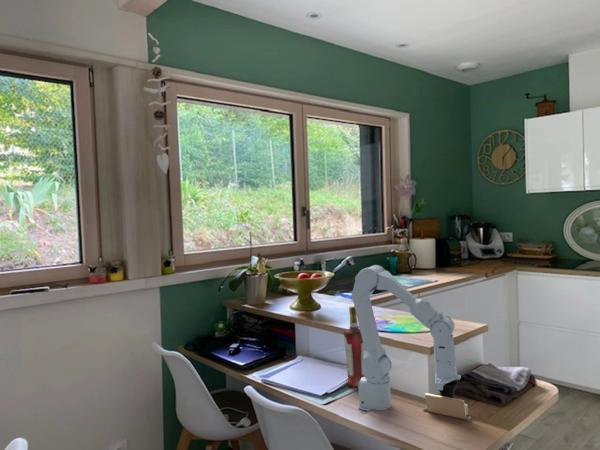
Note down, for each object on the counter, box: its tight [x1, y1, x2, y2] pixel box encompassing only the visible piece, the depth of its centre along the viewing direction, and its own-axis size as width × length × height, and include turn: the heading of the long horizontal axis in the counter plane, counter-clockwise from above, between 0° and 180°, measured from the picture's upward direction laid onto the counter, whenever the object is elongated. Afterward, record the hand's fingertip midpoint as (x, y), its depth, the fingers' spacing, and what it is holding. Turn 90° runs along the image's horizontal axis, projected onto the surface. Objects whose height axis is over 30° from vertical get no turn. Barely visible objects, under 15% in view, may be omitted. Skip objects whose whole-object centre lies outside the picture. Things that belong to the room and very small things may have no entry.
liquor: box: [343, 305, 365, 389], centre depth 158 cm, size 7×7×28 cm
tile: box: [424, 392, 468, 421], centre depth 129 cm, size 11×6×1 cm
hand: (448, 406), depth 129 cm, fingers closed, pressing on tile
